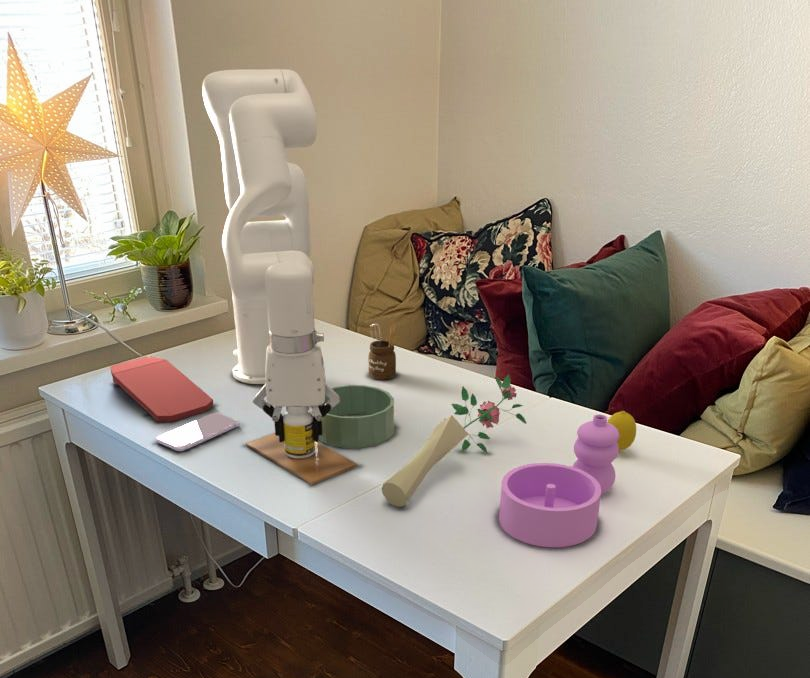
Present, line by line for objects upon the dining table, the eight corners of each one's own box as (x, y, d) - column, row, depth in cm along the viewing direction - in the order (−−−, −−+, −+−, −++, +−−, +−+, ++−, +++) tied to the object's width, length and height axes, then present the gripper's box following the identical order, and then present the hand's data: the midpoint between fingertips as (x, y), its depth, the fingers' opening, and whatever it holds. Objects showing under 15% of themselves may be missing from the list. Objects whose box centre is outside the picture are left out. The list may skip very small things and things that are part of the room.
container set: (563, 558, 130) (573, 480, 123) (480, 524, 138) (484, 448, 131) (642, 495, 146) (654, 422, 139) (563, 467, 154) (571, 397, 147)
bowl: (297, 428, 167) (295, 399, 164) (359, 406, 176) (358, 378, 173) (347, 455, 158) (346, 425, 155) (410, 431, 167) (410, 402, 163)
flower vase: (385, 534, 150) (483, 421, 170) (442, 538, 142) (538, 419, 162) (358, 477, 144) (463, 368, 164) (416, 479, 136) (519, 363, 156)
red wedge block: (217, 423, 177) (156, 370, 191) (216, 402, 174) (155, 349, 188) (162, 440, 171) (104, 384, 184) (161, 418, 168) (101, 363, 181)
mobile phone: (241, 420, 168) (179, 448, 158) (242, 425, 168) (180, 453, 158) (215, 410, 171) (152, 436, 162) (215, 415, 172) (153, 441, 162)
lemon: (613, 442, 163) (618, 402, 159) (638, 451, 160) (645, 411, 155) (595, 451, 160) (601, 411, 155) (621, 461, 156) (627, 420, 152)
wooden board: (246, 445, 161) (245, 442, 161) (290, 430, 167) (290, 427, 167) (311, 485, 149) (311, 482, 148) (357, 466, 154) (357, 463, 154)
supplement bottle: (310, 461, 155) (307, 410, 149) (281, 458, 156) (276, 407, 150) (319, 447, 159) (316, 397, 154) (290, 444, 160) (286, 394, 155)
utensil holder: (379, 368, 194) (378, 314, 187) (402, 374, 190) (402, 320, 184) (362, 376, 190) (361, 322, 183) (386, 382, 186) (385, 328, 180)
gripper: (344, 332, 150) (348, 429, 159) (243, 333, 149) (253, 430, 159) (343, 348, 143) (347, 447, 153) (238, 349, 143) (248, 448, 153)
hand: (299, 437), depth 156 cm, fingers closed on supplement bottle, 5 cm apart
